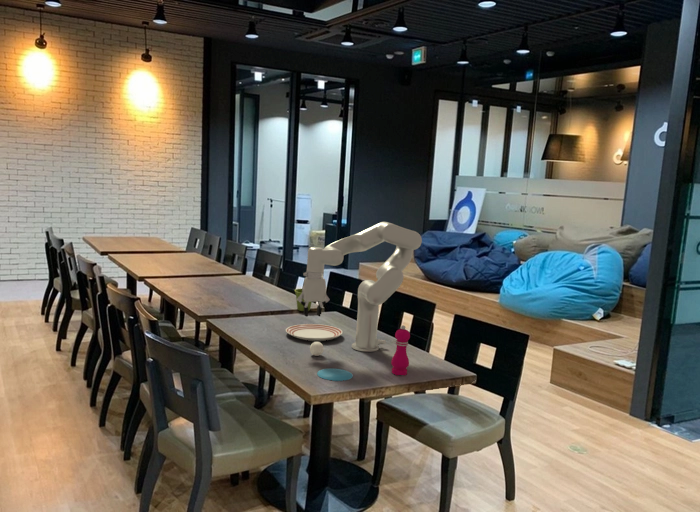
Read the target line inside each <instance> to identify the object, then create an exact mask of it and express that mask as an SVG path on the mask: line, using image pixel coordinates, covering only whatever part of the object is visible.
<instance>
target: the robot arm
mask: <svg viewBox="0 0 700 512" xmlns="http://www.w3.org/2000/svg"><path fill="white" fill-rule="evenodd" d="M422 241H423V239H422V235H421V234H419V232H417V231H415V230H413V229H412V230H411V229H408V228H405V227H402V226H399V225H397V224H394V223H391V222H388V221H381V222H379V223H376V224H374V225H372V226H370V227H368V228H366V229H363V230H362V231H360V232H357V233H354V234H351V235H350V236H347V237H344V238H341V239H339V240H336V241H334V242H332V243H330V244H328V245H326V246H325V247H324V248H323V247H318V246H317V247H316V246H311V247H309V248H308V250H307V261H306V271H305V272H303V277H304V279H303V284H302V288H301V289H302V294H301V295H300V296H299V297H298V298H297V300H298V301H299V302H300V303H301V304H302V305H303V306H304V311H303V315H304V316H305V317H308V316H309V311H308V303H309V302H315V303H316V302H317V304H318V305H317V306H316V315H317V317H321V315H322V313H323V312H322V310H323V308H324V306H325V305H326V304H327V303H328V302H329V301H330V298H329V296H328V295H327V285H326V279H325V278H324V275H325V274H324V272H325V265H327V266H334V267H335V266H339V265H341V264H342V263H343V261H344V256H345V255H348V254H351V253H359V252H360V253H361V252H366V251H368V250H370V249H372V248H374V247H376V246H378V245H380V244H381V243H385V242H386V243H389V244H391V245H394V246H396V247H395V250H394V251H393V253H392V254H391V255H390V256H389V257H388V258H387V259H386V261H385V262H384V263H382V264H381V266H379V267H378V269H377V270H376V272H375V276H376V279H377V280H376V281H374V280H373V279H365V280H363V281H362V282H361V283H360V284H359V285H358V288H357V315H356V318H357V319H356V329H355V341H354V342H353V343H351V348H352V349H354V350H355V351H358V352H365V353H366V352H368V353H371V352H377V351H379V349H380V345H386V344H387V341H386V339H384V340H383V339H381V338H380V339H378V336H377V334H378V323H379V321H378V320H379V309H380V308H379V306H380V305H382V304H383V303H385V302H386V301H387V300H388V299H389V298H390V297H391V296H392V295H393V294H394V293H395V292H396V291H397V290H398V289H400V287H401V286H402V283H403V282H404V277H405V276H404V273H403V271H404V270H405V269H406V268H407V267H408V265H409V264H410V262H412V261H411V260H412V258H413V254H414V250H417V249H419V248H420V247H421V245H422ZM301 299H304V300H305V301H304V302H303V301H302V300H301ZM297 300H296V301H297Z"/></svg>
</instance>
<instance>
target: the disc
mask: <svg viewBox="0 0 700 512" xmlns="http://www.w3.org/2000/svg"><path fill="white" fill-rule="evenodd" d="M316 373H317V374H316V375H317V376H318V377H319V378H321V379H324V380H326V379H327V381H331V380H332V381H333V382H343V380H344V381H348V380H349V381H350V379H352V378H353V377H354V375H353V374H352V373H351V371H348V370H346V369H343V368H332V367H331V368H323V369H320V370H318V371H317V372H316Z"/></svg>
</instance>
